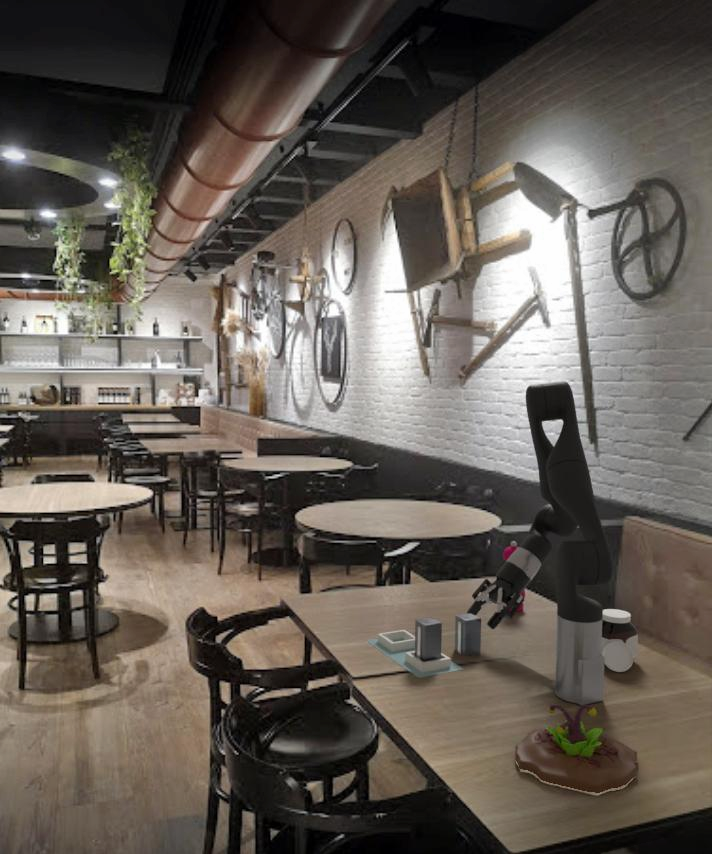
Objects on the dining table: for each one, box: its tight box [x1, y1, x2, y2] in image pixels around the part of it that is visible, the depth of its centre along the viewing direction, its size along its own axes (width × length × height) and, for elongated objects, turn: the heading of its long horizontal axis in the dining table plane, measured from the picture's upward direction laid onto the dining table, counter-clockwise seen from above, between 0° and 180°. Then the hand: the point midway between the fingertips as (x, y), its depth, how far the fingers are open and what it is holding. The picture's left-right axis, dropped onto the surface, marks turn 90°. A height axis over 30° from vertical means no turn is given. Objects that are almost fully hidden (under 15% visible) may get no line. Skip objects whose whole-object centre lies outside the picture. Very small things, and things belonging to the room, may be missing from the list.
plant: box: [514, 704, 638, 793], centre depth 133 cm, size 20×20×11 cm
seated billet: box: [414, 617, 443, 662], centre depth 174 cm, size 4×5×10 cm
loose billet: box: [454, 613, 482, 657], centre depth 182 cm, size 4×5×10 cm
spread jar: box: [601, 608, 639, 673], centre depth 179 cm, size 12×11×12 cm
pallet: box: [365, 629, 464, 679], centre depth 181 cm, size 26×12×4 cm, turn 26°
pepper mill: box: [502, 540, 526, 613], centre depth 221 cm, size 7×7×20 cm
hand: (479, 621), depth 184 cm, fingers open, 8 cm apart
